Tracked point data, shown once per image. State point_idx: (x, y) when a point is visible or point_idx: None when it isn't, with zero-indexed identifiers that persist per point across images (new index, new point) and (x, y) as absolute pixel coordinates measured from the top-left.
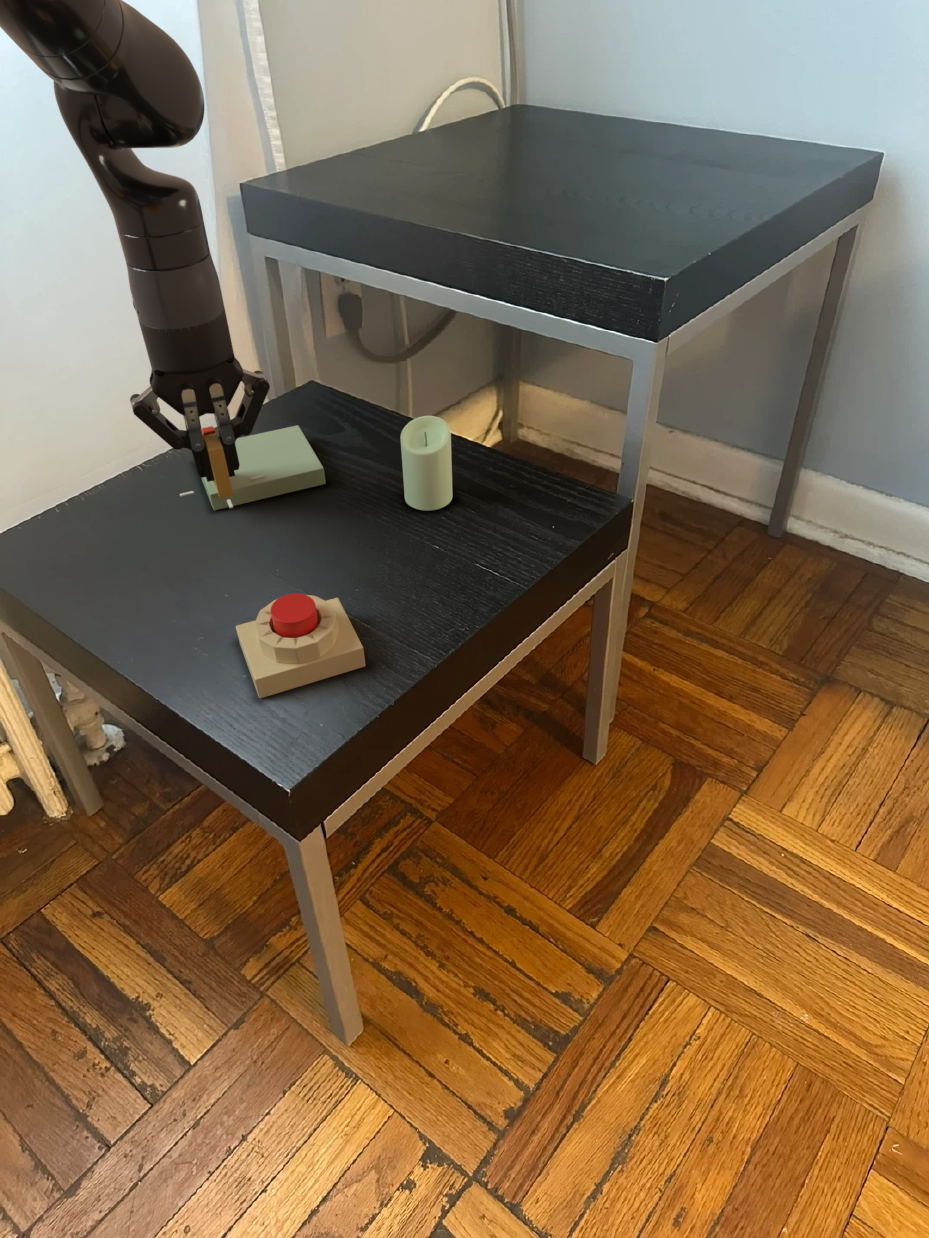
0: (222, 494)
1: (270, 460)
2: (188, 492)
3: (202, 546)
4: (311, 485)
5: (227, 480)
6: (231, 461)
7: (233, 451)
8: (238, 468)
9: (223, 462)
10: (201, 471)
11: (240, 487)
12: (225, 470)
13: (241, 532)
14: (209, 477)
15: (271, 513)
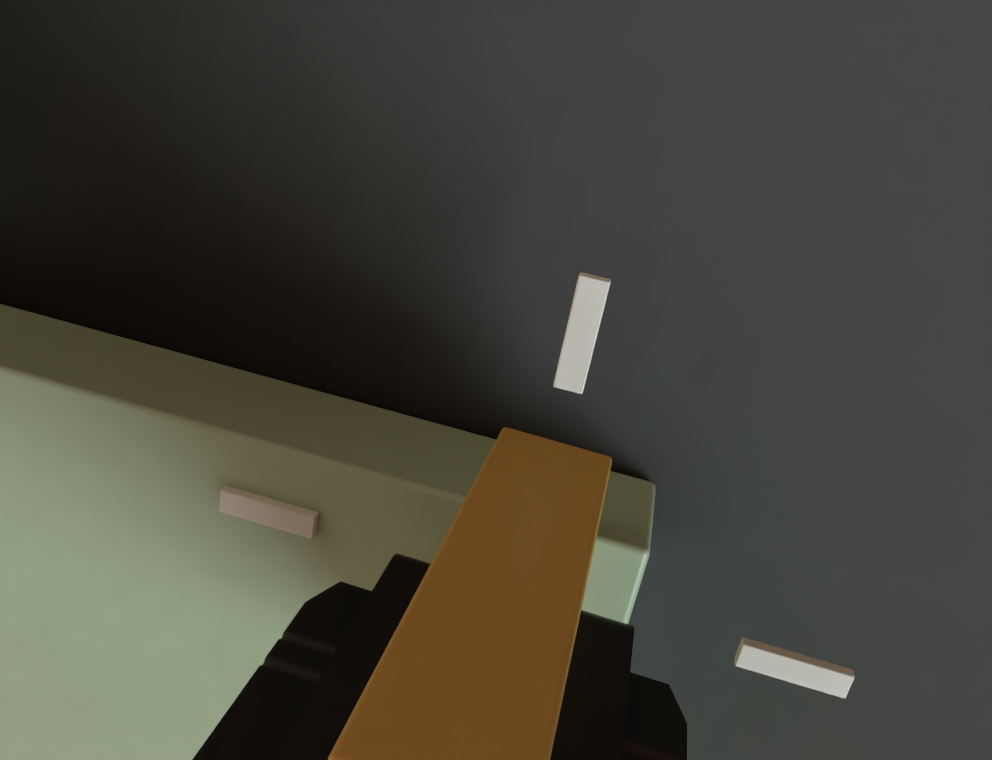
0: (580, 463)
1: (128, 627)
2: (778, 670)
3: (960, 133)
4: (20, 314)
5: (490, 500)
6: (347, 642)
7: (261, 718)
8: (335, 587)
9: (433, 619)
10: (650, 726)
11: (415, 487)
12: (460, 557)
13: (619, 122)
14: (608, 638)
15: (344, 210)
